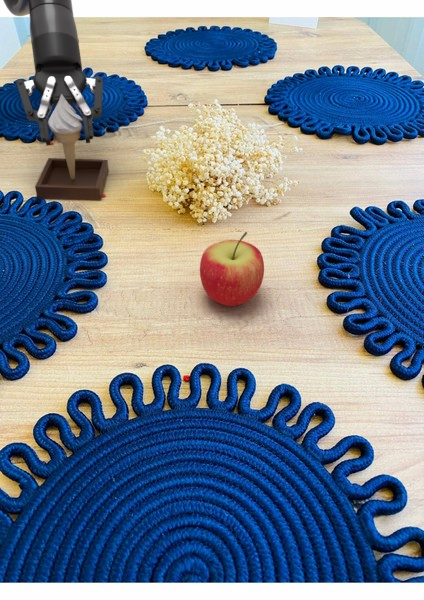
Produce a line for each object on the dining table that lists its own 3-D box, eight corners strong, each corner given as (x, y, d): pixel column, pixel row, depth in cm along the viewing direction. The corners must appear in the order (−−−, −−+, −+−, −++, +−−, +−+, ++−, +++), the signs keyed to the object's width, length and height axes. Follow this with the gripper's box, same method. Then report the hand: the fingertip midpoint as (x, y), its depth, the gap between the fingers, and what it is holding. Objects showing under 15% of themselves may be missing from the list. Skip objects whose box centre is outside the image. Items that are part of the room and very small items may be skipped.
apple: (273, 305, 71) (282, 243, 64) (218, 325, 67) (222, 262, 61) (239, 271, 76) (245, 211, 69) (187, 289, 73) (188, 227, 66)
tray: (37, 198, 89) (34, 186, 88) (50, 169, 97) (48, 157, 96) (100, 200, 90) (99, 188, 88) (108, 171, 98) (107, 159, 96)
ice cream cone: (54, 174, 94) (40, 88, 84) (86, 169, 96) (76, 85, 86) (59, 189, 90) (45, 101, 80) (92, 184, 92) (83, 98, 82)
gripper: (5, 30, 82) (18, 136, 81) (99, 29, 85) (113, 130, 84) (13, 56, 90) (25, 153, 89) (99, 54, 93) (112, 147, 92)
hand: (68, 142), depth 87 cm, fingers closed on ice cream cone, 5 cm apart
